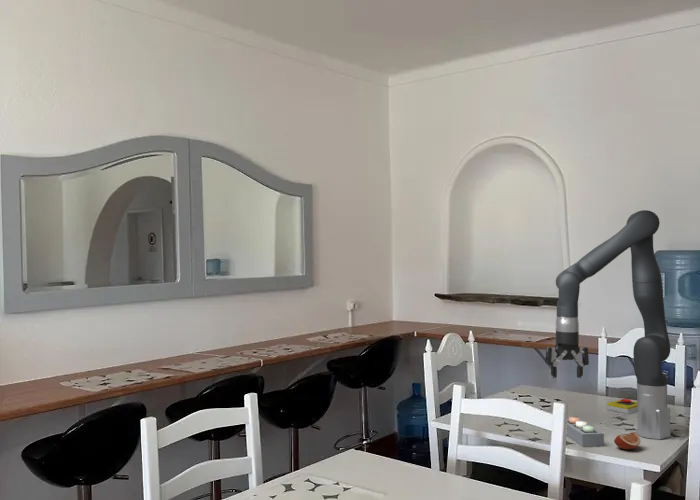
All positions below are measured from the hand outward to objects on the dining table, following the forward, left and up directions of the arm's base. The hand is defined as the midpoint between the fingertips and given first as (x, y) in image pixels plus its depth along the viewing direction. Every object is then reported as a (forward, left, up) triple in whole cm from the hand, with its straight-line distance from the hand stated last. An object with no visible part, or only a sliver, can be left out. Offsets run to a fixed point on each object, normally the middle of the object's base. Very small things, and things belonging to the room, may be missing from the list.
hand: (566, 377), depth 229 cm
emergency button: (+9, -43, -19) cm, 48 cm away
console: (-8, +3, -19) cm, 20 cm away
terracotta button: (-3, 0, -15) cm, 16 cm away
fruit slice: (-24, 0, -19) cm, 30 cm away
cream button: (-8, +3, -15) cm, 17 cm away
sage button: (-13, +5, -15) cm, 21 cm away
